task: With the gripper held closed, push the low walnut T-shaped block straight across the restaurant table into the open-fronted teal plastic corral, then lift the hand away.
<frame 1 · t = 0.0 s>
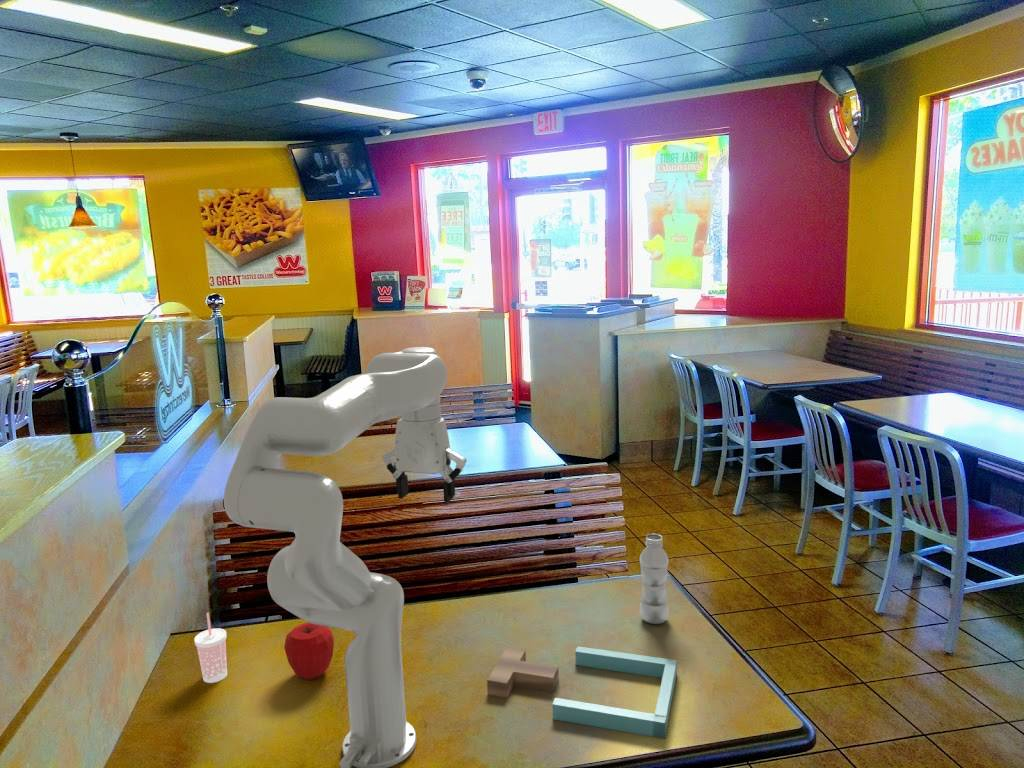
hand: (426, 498, 143), 37 cm above the table, tool pointing down, fingers open, 9 cm apart
walnut T-block: (526, 681, 145), on the table
plastic bottle: (654, 621, 166), on the table
beverage cup: (215, 677, 150), on the table
teal corral: (612, 694, 140), on the table
apple: (312, 674, 150), on the table
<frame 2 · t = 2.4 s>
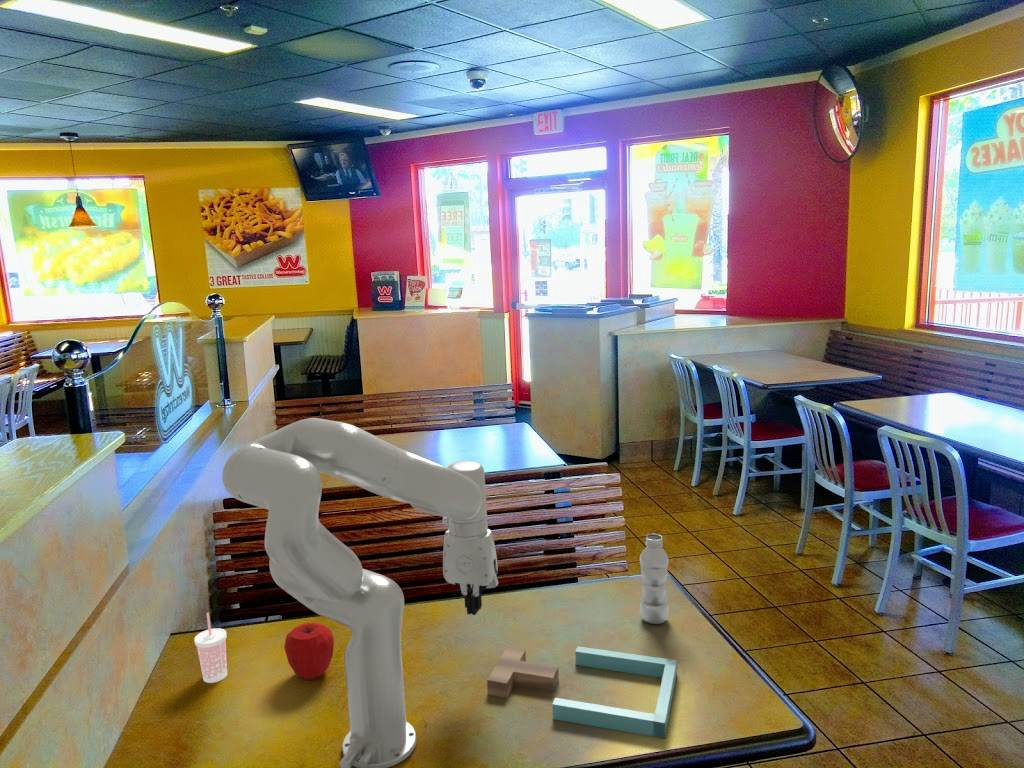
hand: (473, 611, 146), 13 cm above the table, tool pointing down, fingers closed
nothing on the table moved.
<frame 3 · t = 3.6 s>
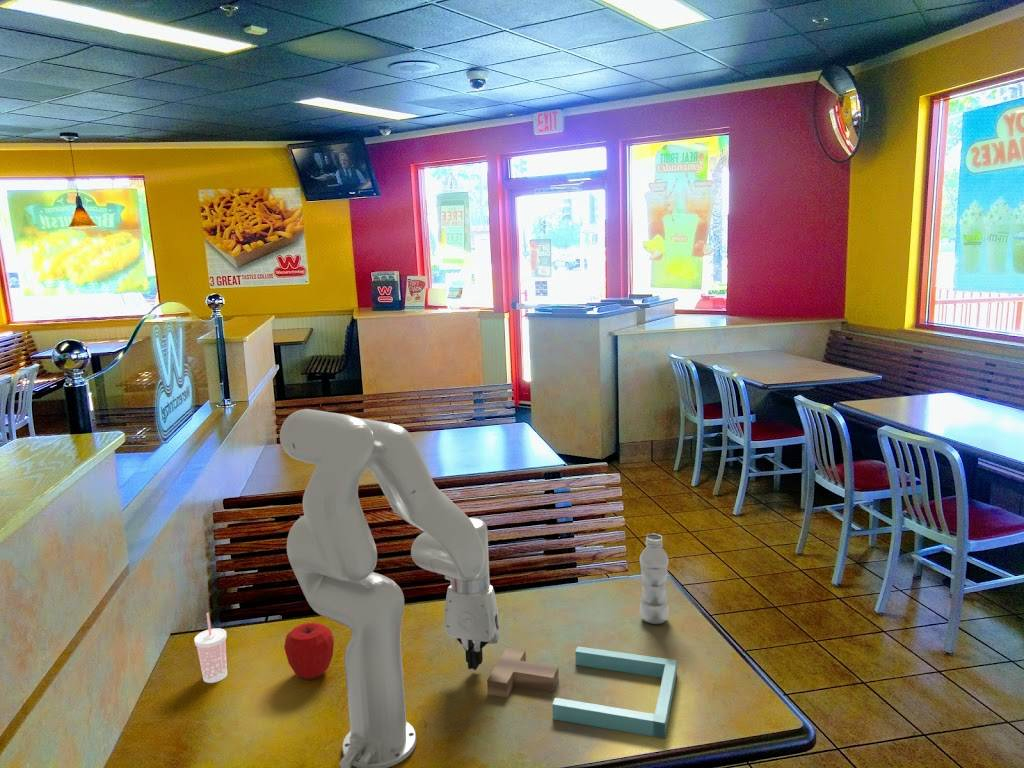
hand: (474, 665, 148), 2 cm above the table, tool pointing down, fingers closed
nothing on the table moved.
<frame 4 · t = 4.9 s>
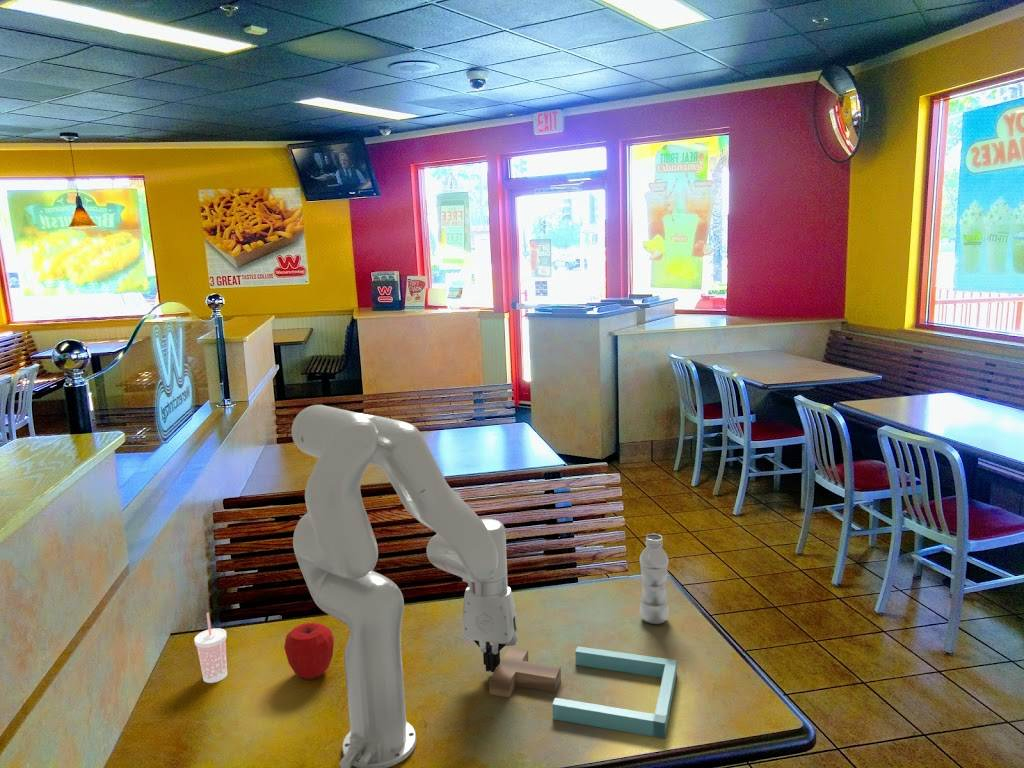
hand: (492, 668, 147), 2 cm above the table, tool pointing down, fingers closed
walnut T-block: (528, 681, 145), on the table, touching gripper
everything else where it was.
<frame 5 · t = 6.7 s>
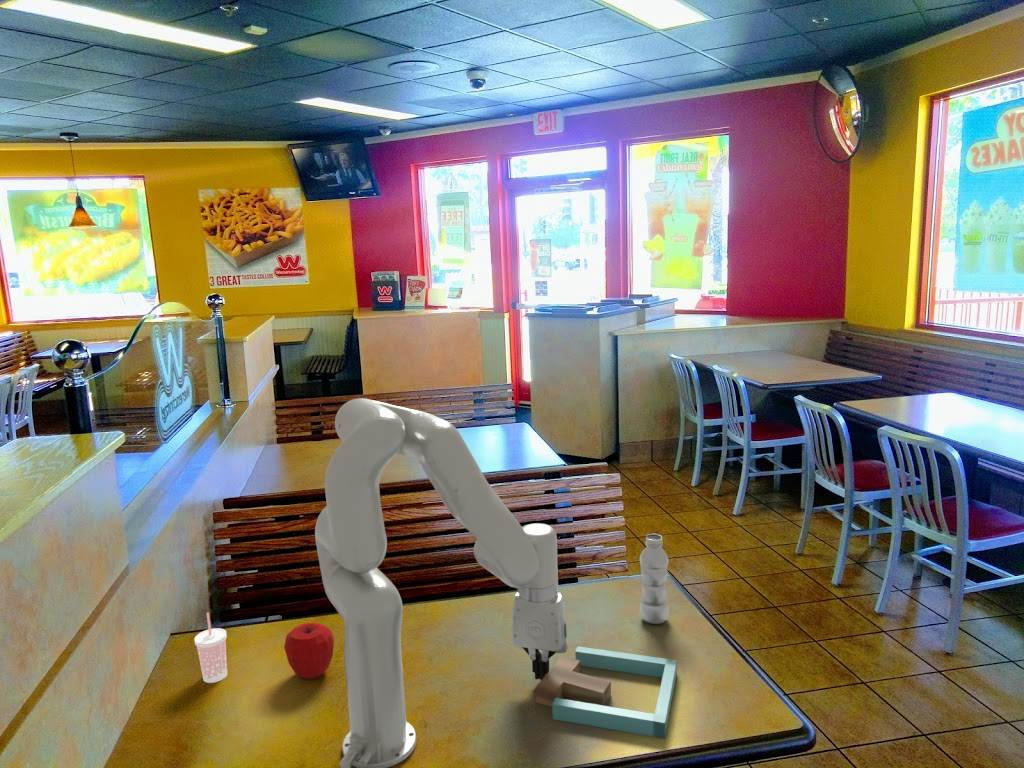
hand: (541, 675, 144), 2 cm above the table, tool pointing down, fingers closed
walnut T-block: (577, 693, 140), on the table, touching gripper
everything else where it was.
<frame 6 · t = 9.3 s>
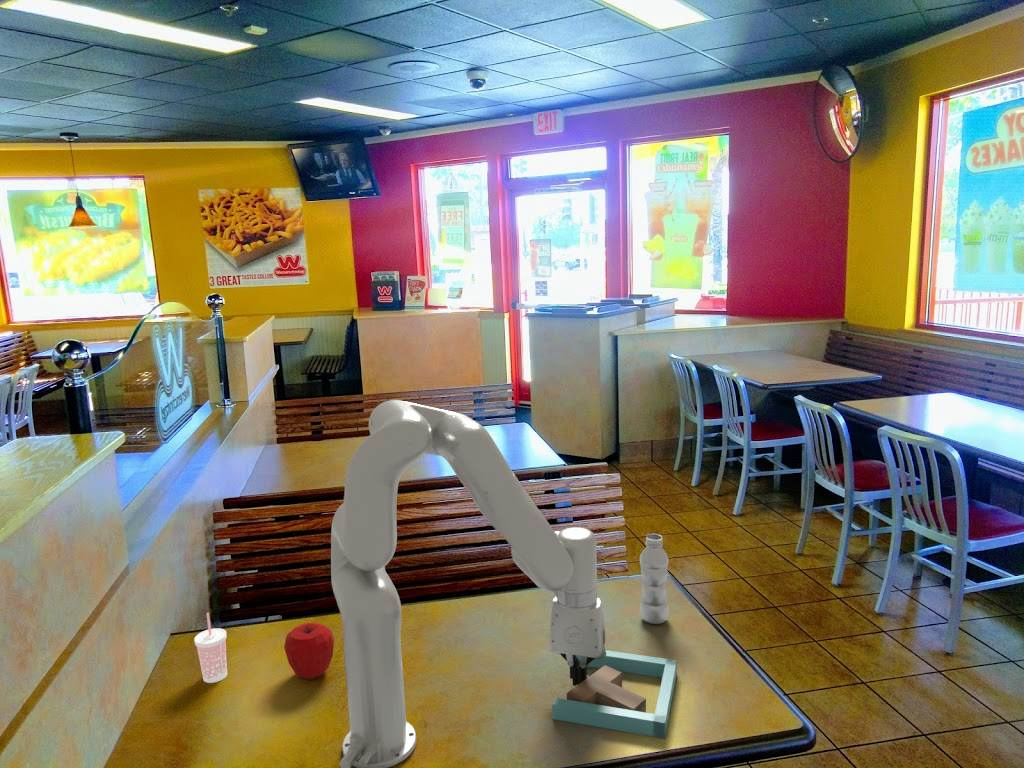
hand: (578, 682, 141), 2 cm above the table, tool pointing down, fingers closed
walnut T-block: (612, 705, 136), on the table
everything else where it was.
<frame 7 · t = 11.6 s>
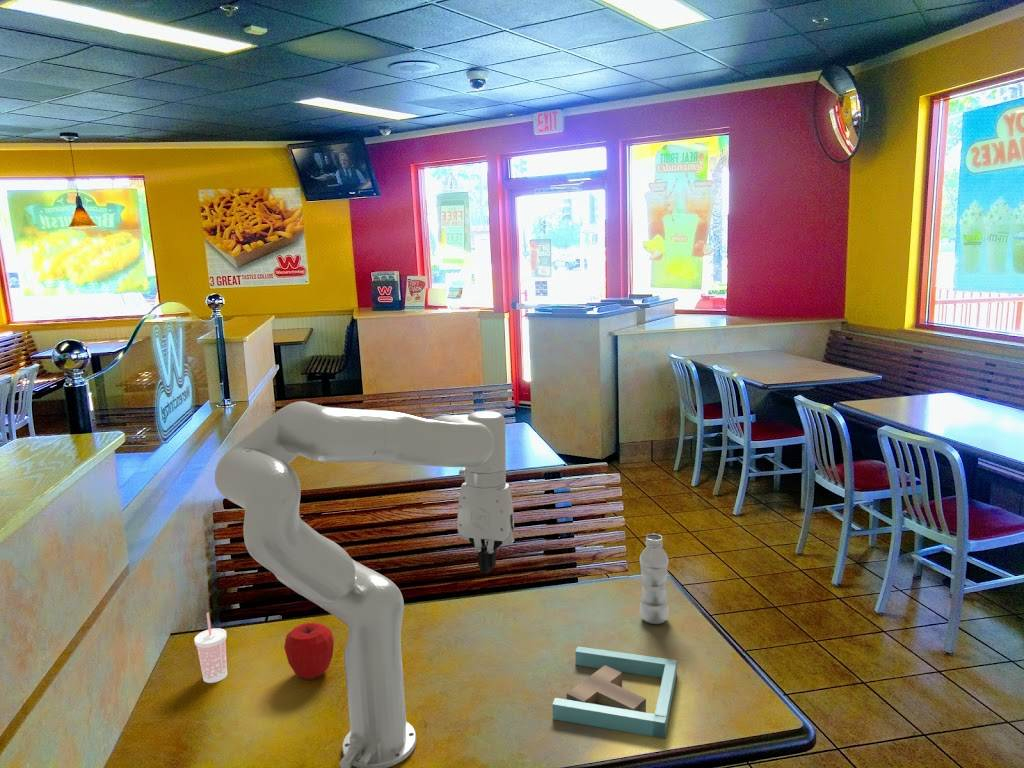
hand: (486, 569, 140), 24 cm above the table, tool pointing down, fingers closed
nothing on the table moved.
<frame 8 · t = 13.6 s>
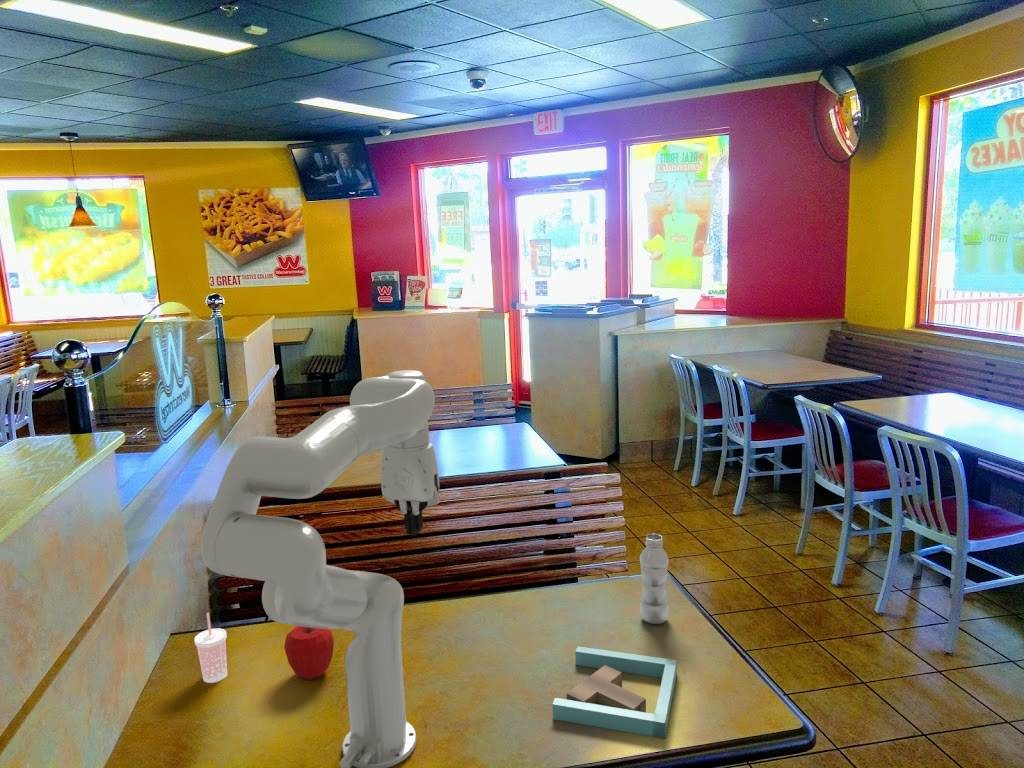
hand: (414, 532, 138), 32 cm above the table, tool pointing down, fingers closed
nothing on the table moved.
at the end: walnut T-block inside the target area on the teal corral (3.1 cm from its centre), point 0.0 cm above the teal corral's base; walnut T-block tilted 0° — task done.
